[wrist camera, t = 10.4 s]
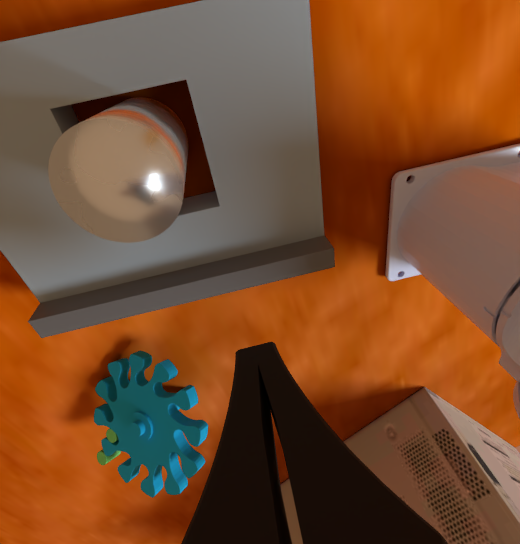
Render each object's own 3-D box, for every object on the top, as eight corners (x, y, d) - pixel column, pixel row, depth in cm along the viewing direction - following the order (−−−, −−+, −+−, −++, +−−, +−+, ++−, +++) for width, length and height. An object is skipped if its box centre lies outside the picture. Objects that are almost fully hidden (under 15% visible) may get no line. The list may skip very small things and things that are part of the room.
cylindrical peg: (179, 93, 15) (168, 112, 9) (194, 177, 17) (193, 235, 11) (92, 100, 14) (22, 124, 9) (119, 185, 17) (78, 249, 11)
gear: (146, 330, 20) (222, 479, 18) (201, 314, 26) (265, 428, 24) (61, 398, 25) (115, 525, 23) (123, 372, 30) (172, 473, 28)
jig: (291, -9, 13) (321, -33, 10) (313, 234, 20) (334, 266, 17) (-85, 69, 13) (-179, 71, 10) (67, 293, 20) (41, 337, 16)
